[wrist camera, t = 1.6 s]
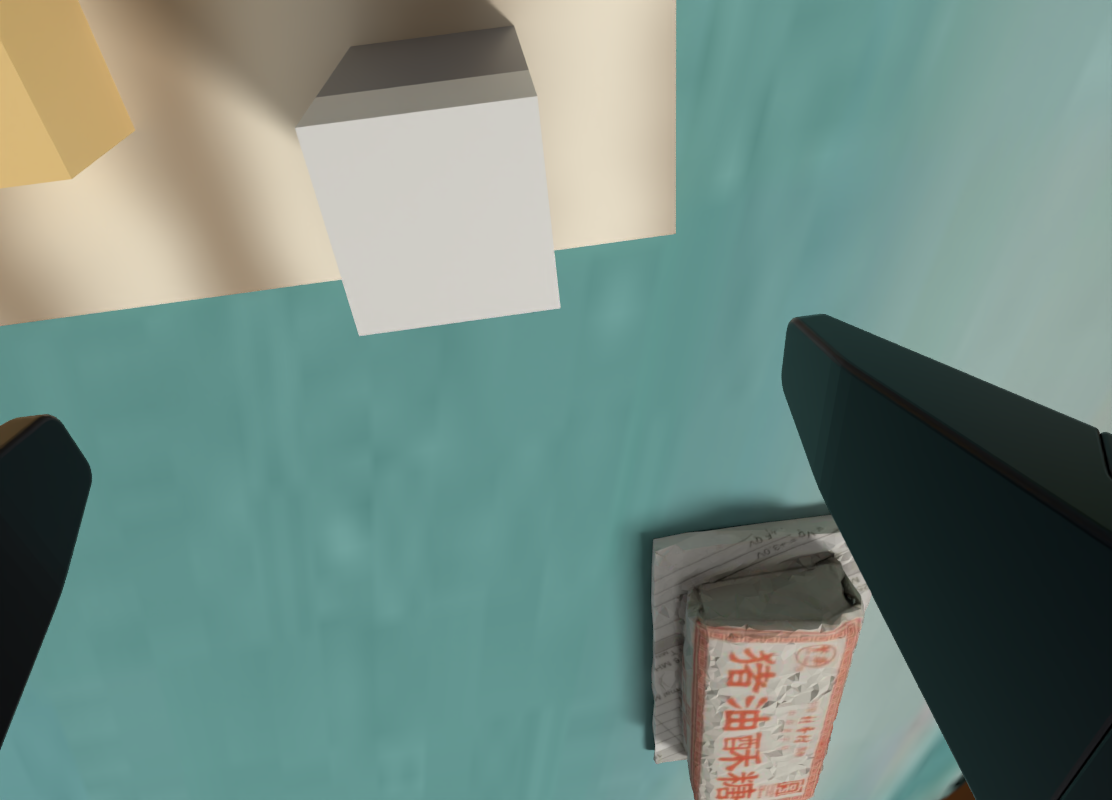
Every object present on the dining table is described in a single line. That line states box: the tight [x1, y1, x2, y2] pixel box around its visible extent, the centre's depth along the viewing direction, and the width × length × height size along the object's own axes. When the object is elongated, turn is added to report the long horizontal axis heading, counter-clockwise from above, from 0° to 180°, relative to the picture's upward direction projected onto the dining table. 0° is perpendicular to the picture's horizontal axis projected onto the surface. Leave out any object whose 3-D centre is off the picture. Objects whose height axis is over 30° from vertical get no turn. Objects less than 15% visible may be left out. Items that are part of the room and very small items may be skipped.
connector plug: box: [295, 26, 560, 336], centre depth 16 cm, size 4×4×7 cm
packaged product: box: [651, 515, 872, 800], centre depth 34 cm, size 18×5×10 cm
